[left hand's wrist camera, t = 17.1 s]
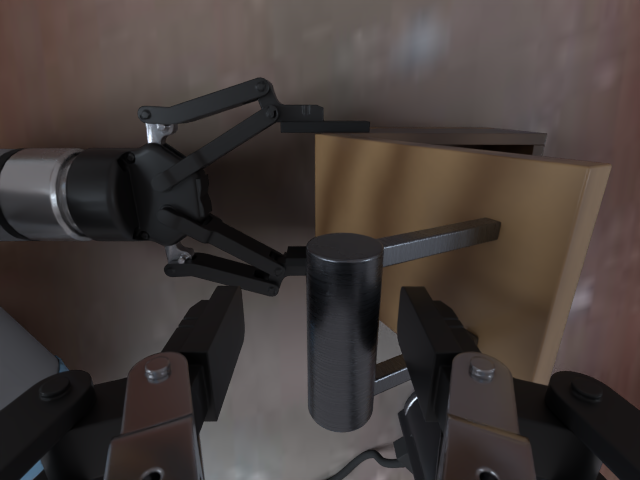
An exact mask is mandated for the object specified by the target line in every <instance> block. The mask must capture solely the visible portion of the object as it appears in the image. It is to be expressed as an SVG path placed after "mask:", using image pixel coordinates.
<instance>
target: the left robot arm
mask: <svg viewBox="0 0 640 480" xmlns="http://www.w3.org/2000/svg"><path fill="white" fill-rule="evenodd" d="M244 333H245V324H244V313H243V301H242V291H241V287H240V286H217V288H216V289H215V291H214V293H213V294H212V296H211V298H210V300H201V301H200V302H198V303H197V304H195V305H194V306H192V307H191V308H190V309H189V311H188V312H187V314H186V315H185V317H184V320H182V321H181V323H180V324H179V327H178V328H177V329H176V330H175V332H174V333H173V335H172V336H171V338H170V339H169V341H168V342H167V344H166V345H165V347H164V348H163V350H162V351H161V353H157V354H153V355H151V356H148V357H146V358H144V359H142V360H141V361H139V362H138V363H137V364H135V365H134V366H133V367H132V369H131V370H130V372H129V374H128V377H127V378H123V379H119V380H115V381H110V382H106V383H101V384H97V385H93V382H92V379H91V376H90V374H88V373H87V372H85V371H81V370H70V371H64V372H60V373H57V374H54V375H51V376H49V377H47V378H45V379H43V380H41V381H39V382H38V383H36V384H35V385H33V386H32V387H30V388H29V389H28V390H26V391H25V392H24V393H23V394H21V395H20V396H19V397H17V398H16V399H15V400H13V401H12V402H11V403H10V404H8V405H7V406H6V407H4V408H3V409H2V410H0V480H20V479H21V478H22V477H23V476H24V475H25V474H26V473H27V472H28V471H29V470H30V469H31V468H32V467H33V466H34V465H35V464H36V463H37V462H38V461H39V460H41V463H42V465H43V468H44V469H43V470H42V471H41V472H40V473H39V474H38V475H37V476H36V477H35V478H34V480H205V475H204V467H203V458H202V450H201V442H200V435H199V433H200V430H201V428H202V425H203V422H204V421H217V420H218V417H219V414H220V411H221V408H222V405H223V402H224V399H225V396H226V393H227V390H228V387H229V384H230V381H231V378H232V374H233V371H234V368H235V365H236V362H237V359H238V356H239V353H240V350H241V347H242V344H243V341H244ZM397 337H398V342H399V346H400V349H401V352H402V354H403V357H404V360H405V363H406V366H407V369H408V372H409V375H410V378H411V381H412V384H413V387H414V390H415V392H414V393H413V394H412V395H411V396H410V397H409V398H408V400H407V401H406V403H405V406H404V409H403V410H402V411H401V412H399V413H398V417H399V421H400V425H401V429H402V433H403V437H401V438H400V439H398V440H396V441H395V442H393V444H394V448H395V453H396V457H397V459H386V458H383V457H382V456H381V454H380V453H378V452H377V451H376V450H369V451H365V452H363V453H361V454H360V455H358V456H357V457H356V458H354V459H353V460H352V461H351V462H350V463H349V464H347V465H346V466H345V467H344V468H343V469H342V470H341V471H340V472H339V473H337V474H336V475H334V476H333V477H331V478H329V479H327V480H342V479H343V478H344V477H346V476H347V475H348V474H349V473H350V472H351V471H352V470H353V469H354V468H355V467H356V466H357V465H359V464H360V463H361V462H363V461H364V460H366V459H369V458H374V459H375V460H376V461H377V462H378V463H379V464H380V465H382V466H384V467H388V468H400V467H406V468H407V469H408V470H409V471H410V472H411V473H412V474H413V475H414V479H415V480H606V478H605V477H604V476H603V475H602V474H601V473H600V472H599V471H600V468H601V466H602V463H604V464H605V465H606V466H607V467H608V468H609V469H610V470H611V471H612V472H613V473H614V474H615V475H616V476H617V477H618V478H619V479H620V480H640V410H638V409H637V408H636V407H634V406H633V405H632V404H630V403H629V402H628V401H627V400H625V399H624V398H623V397H621V396H620V395H619V394H617V393H616V392H615V391H614V390H612V389H611V388H610V387H608V386H607V385H605V384H604V383H602V382H600V381H598V380H596V379H594V378H592V377H590V376H587V375H584V374H581V373H577V372H571V371H560V372H556V373H554V374H553V375H552V376H551V378H550V381H549V384H548V386H547V385H543V384H538V383H534V382H529V381H525V380H521V379H517V378H514V377H512V374H511V372H510V370H509V369H508V367H507V366H506V365H505V364H503V363H502V362H501V361H499V360H498V359H496V358H494V357H492V356H489V355H487V354H483V353H481V351H480V350H479V348H478V347H477V345H476V344H475V342H474V341H473V339H472V338H471V336H470V335H469V333H468V332H467V330H466V329H465V328H464V326H463V324H462V323H461V321H460V320H458V317H457V315H456V314H455V312H454V311H453V309H452V308H450V307H449V306H448V305H446V304H445V303H443V302H442V301H440V300H432V298H431V297H430V295H429V293H428V291H427V290H426V288H425V287H424V286H402V287H401V290H400V299H399V310H398V321H397Z"/></svg>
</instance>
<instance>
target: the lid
mask: <svg viewBox="0 0 640 480" xmlns="http://www.w3.org/2000/svg"><path fill="white" fill-rule="evenodd" d="M611 167H612V165H611V164H609V163H599V162H590V161H581V160H572V159H562V158H553V157H544V156H535V155H525V154H516V153H507V152H498V151H488V150H479V149H470V148H461V147H451V146H442V145H433V144H424V143H414V142H405V141H396V140H387V139H377V138H368V137H359V136H350V135H340V134H331V133H328V134H315V238H313V239H311V240H310V241H309V242H308V243H307V246H306V284H307V362H308V409H309V412H310V414H311V416H312V418H313V419H314V420H315V421H316V422H317V423H318V424H319V425H320V426H322V427H323V428H325V429H327V430H330V431H334V432H350V431H354V430H356V429H359V428H360V427H362V426H363V425H365V423H366V422H367V421H368V420H369V419H370V417H371V415H372V411H373V399H374V396H375V395H377V394H379V393H381V392H384V391H386V390H388V389H390V388H393V387H395V386H397V385H400V384H402V383H404V382H406V381H409V380H411V378H410V375H409V372H408V369H407V366H406V363H405V360H404V357H403V354H401V355H399V356H396V357H394V358H391V359H389V360H386V361H384V362H381V363H378V364H376V357H377V343H378V329H379V320H380V321H381V322H383V323H384V324H385V325H386V326H388V327H389V328H390V329H391V330H392V331H394V332H395V333H396V334H397V321H398V310H399V299H400V290H401V287H402V286H424V287H425V288H426V290H427V291H428V293H429V295H430V297H431V298H432V300H440V301H442V302H443V303H445V304H446V305H448V306H449V307H450V308H452V309H453V311H454V312H455V314H456V315H457V317H458V320H460V321H461V323H462V324H463V326H464V328H465V329H466V330H467V332H468V333H469V335H470V336H471V338H472V339H473V341H474V342H475V344H476V345H477V347H478V348H479V350H480V351H481V353H483V354H487V355H489V356H492V357H494V358H496V359H498V360H499V361H501V362H502V363H503V364H505V365H506V366H507V367H508V369H509V370H510V372H511V374H512V377H514V378H517V379H521V380H525V381H529V382H534V383H538V384H543V385H547V386H548V384H549V380H550V377H551V373H552V370H553V366H554V363H555V359H556V356H557V353H558V349H559V346H560V342H561V339H562V335H563V332H564V329H565V325H566V322H567V318H568V315H569V311H570V308H571V305H572V301H573V298H574V294H575V291H576V287H577V284H578V281H579V277H580V274H581V270H582V267H583V263H584V260H585V257H586V253H587V250H588V246H589V243H590V239H591V236H592V232H593V229H594V226H595V222H596V219H597V215H598V212H599V208H600V205H601V202H602V198H603V195H604V191H605V188H606V184H607V181H608V178H609V174H610V171H611Z"/></svg>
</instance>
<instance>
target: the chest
mask: <svg viewBox="0 0 640 480" xmlns="http://www.w3.org/2000/svg"><path fill="white" fill-rule="evenodd" d="M328 133H331V134H340V135H350V136H359V137H368V138H377V139H387V140H396V141H405V142H414V143H424V144H433V145H442V146H451V147H461V148H470V149H479V150H488V151H498V152H507V153H516V154H525V155H535V156H542V155H543V151H544V146H545V142H546V137H547V133H537V132H526V131H516V130H506V129H495V128H370V131H369V132H323V133H322V134H328Z"/></svg>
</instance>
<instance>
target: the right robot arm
mask: <svg viewBox="0 0 640 480" xmlns="http://www.w3.org/2000/svg"><path fill="white" fill-rule="evenodd" d="M257 100H258V101H259V104H260V106H261V110H260V111H258V112H257V113H255V114H253V115H252V116H250V117H249V118H247V119H246V120H244V121H243V122H241V123H239V124H238V125H236V126H235V127H233V128H232V129H230V130H229V131H227V132H226V133H224V134H222V135H221V136H219V137H218V138H216V139H215V140H213V141H212V142H210V143H208V144H207V145H205V146H204V147H202V148H201V149H199V150H197V151H196V152H194V153H192V154H190V155H189V156H187V157H186V156H185V155H183V154H182V153H180V152H179V151H177V150H176V149H174V148H173V147H171V146H170V145H168V144H167V143H165V140H166V138H167V136H169V135H171V134H174V133H176V132H177V130H178V124H182V123H189V122H193V121H196V120H199V119H202V118H205V117H208V116H211V115H214V114H217V113H220V112H223V111H226V110H230V109H233V108H236V107H239V106H242V105H245V104H248V103H251V102H254V101H257ZM138 117H139V119H140V120H141V121H142V122H144V123H146V131H147V141H148V143H147V144H145V145H143V146H142V147H140V148H89V149H86V150H84V149H81V148H26V149H0V241H90V240H96V241H146V240H149V241H154V242H157V243H159V244H161V245H164V246H165V250H166V254H167V259H168V264H167V265H166V266H165V268H164V272H165V274H166V275H167V276H170V277H182V276H194V277H198V278H202V279H206V280H209V281H213V282H217V283H221V284H225V285H229V286H240V287H241V289H244V290H248V291H252V292H256V293H259V294H263V295H267V296H275V295H277V293H278V291H279V288H280V285H281V282H282V280H283V278H284V277H286V276H290V275H294V276H305V275H306V246H288V250H287V253H286V252H285V253H284V255H283V254H281V253H280V252H278V251H276V250H274V249H272V248H270V247H268V246H266V245H264V244H263V243H261V242H259V241H257V240H255V239H253V238H251V237H249V236H247V235H246V234H244V233H242V232H240V231H238V230H236V229H234V228H232V227H230V226H229V225H227V224H225V223H223V222H222V220H221V219H220V218H218V217H216V216H214V215H212V214H211V213H210V212H211V211H212V206H211V201H210V198H209V195H208V186H209V179H208V174H205V172H204V170H203V169H204V168H205V167H207V166H208V165H210V164H212V163H213V162H215V161H216V160H217V159H219V158H221V157H222V156H224V155H225V154H227V153H229V152H230V151H232V150H233V149H235V148H236V147H238V146H240V145H241V144H243V143H244V142H246V141H248V140H249V139H251V138H252V137H254V136H255V135H257V134H259V133H260V132H262V131H263V130H265V129H266V128H268V127H270V126H271V125H273V124H274V123H276V122H281V133H323V132H369V131H370V122H368V121H323V107H320V106H318V105H283V104H281V103H280V102H279V101H278V99H277V97H276V95H275V92H274V89H273V85H272V83H270V82H269V81H268V80H266V79H264V78H256V79H253V80H250V81H247V82H244V83H241V84H238V85H235V86H232V87H229V88H226V89H223V90H220V91H217V92H214V93H211V94H208V95H205V96H202V97H198V98H195V99H192V100H189V101H186V102H183V103H180V104H177V105H174V106H171V107H160V106H142V107H140V108H139V110H138ZM187 235H188V236H190V237H192V238H194V239H196V240H198V241H200V242H202V243H209V244H212V245H214V246H216V247H217V248H219V249H221V250H223V251H225V252H227V253H229V254H231V255H233V256H235V257H237V258H239V259H241V260H243V261H245V262H247V263H249V264H251V265H253V266H251V265H247V264H243V263H239V262H236V261H232V260H228V259H224V258H221V257H217V256H213V255H210V254H205V253H194V250H193V249H192V248H187V247H184V246H183V245H182V244H181V243H180V241H181V240H182V239H183V238H185V237H186V236H187ZM64 371H69V369H68V368H67V367H66V366H65V365H64V363H63V361H62V359H61V358H59V357H58V356H57V355H53V354H52V353H50V352H49V351H48V350H47V349H46V348H45V347H44V346H43V345H42V344H41V343H40V342H38V341H37V340H36V339H35V338H34V337H33V336H32V335H31V334H30V333H29V332H28V331H27V330H25V329H24V328H23V327H22V326H21V325H20V324H19V323H18V322H17V321H16V320H15V319H14V318H12V317H11V316H10V315H9V314H8V313H7V312H6V311H5V310H4V309H3V308H2V307H0V410H2V409H3V408H4V407H6V406H7V405H8V404H10V403H11V402H12V401H13V400H15V399H16V398H17V397H19V396H20V395H21V394H23V393H24V392H25V391H26V390H28V389H29V388H30V387H32V386H33V385H35V384H36V383H38V382H39V381H41V380H43V379H45V378H47V377H49V376H51V375H54V374H57V373H60V372H64ZM43 469H44V468H43V465H42V463H41V460H39V461H38V462H37V463H36V464H35V465H34V466H33V467H32V468H31V469H30V470H29V471H28V472H27V473H26V474H25V475H24V476H23V477H22V478H21V479H20V480H32V479H33V478H35V477H36V476H37V475H38V474H39V473H40V472H41V471H42V470H43Z"/></svg>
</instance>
